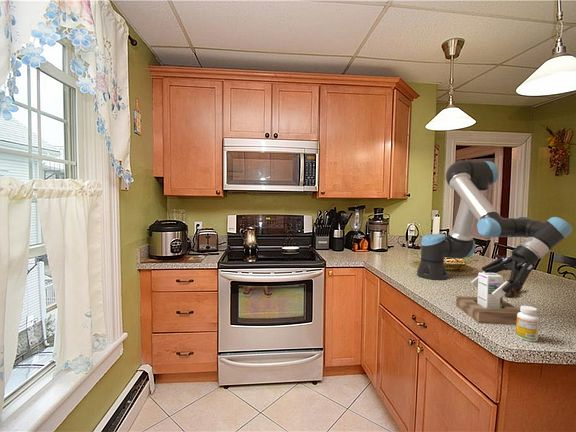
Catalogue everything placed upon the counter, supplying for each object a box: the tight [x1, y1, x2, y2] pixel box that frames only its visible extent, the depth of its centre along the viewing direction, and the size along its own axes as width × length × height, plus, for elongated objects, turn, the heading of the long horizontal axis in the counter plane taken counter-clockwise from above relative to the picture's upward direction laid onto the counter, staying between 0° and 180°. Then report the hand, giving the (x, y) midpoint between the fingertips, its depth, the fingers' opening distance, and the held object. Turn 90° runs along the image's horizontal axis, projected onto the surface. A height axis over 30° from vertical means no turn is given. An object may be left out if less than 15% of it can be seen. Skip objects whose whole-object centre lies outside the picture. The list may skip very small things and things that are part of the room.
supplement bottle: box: [515, 305, 540, 343], centre depth 91 cm, size 5×5×10 cm
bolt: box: [503, 282, 523, 298], centre depth 133 cm, size 6×5×15 cm
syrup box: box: [477, 272, 504, 308], centre depth 109 cm, size 6×6×14 cm
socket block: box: [455, 295, 521, 325], centre depth 109 cm, size 16×16×4 cm
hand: (483, 290), depth 109 cm, fingers open, 13 cm apart
